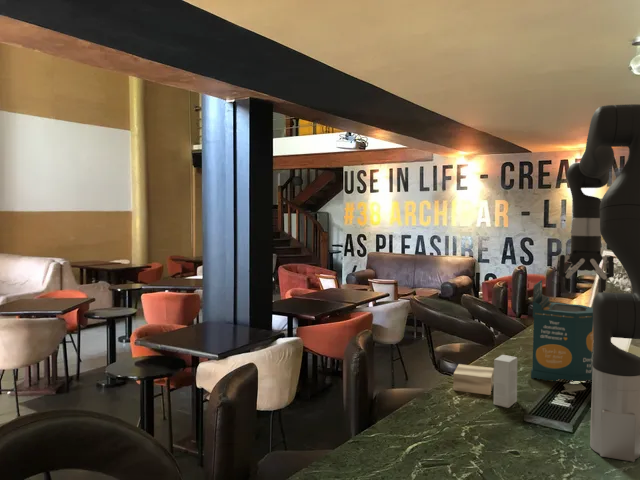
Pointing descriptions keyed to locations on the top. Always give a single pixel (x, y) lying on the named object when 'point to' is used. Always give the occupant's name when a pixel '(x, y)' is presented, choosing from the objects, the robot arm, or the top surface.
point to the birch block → (473, 379)
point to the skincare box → (505, 380)
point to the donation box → (561, 339)
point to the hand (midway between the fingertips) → (584, 292)
